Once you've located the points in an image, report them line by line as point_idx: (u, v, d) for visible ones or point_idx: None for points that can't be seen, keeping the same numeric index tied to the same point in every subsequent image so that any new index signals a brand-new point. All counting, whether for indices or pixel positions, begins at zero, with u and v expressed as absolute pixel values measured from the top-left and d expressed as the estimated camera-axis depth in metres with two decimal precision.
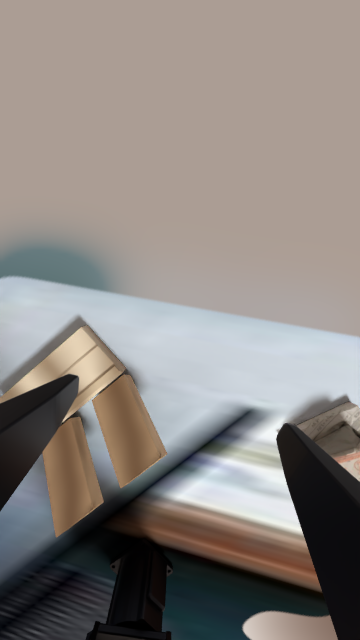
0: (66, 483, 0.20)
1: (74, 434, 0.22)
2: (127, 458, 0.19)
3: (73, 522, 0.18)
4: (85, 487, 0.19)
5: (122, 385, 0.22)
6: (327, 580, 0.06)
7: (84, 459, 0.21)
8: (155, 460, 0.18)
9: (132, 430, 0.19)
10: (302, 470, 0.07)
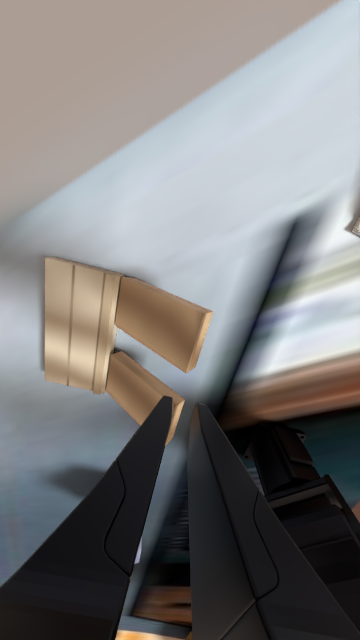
0: (142, 404, 0.19)
1: (122, 364, 0.20)
2: (173, 343, 0.15)
3: None
4: (157, 396, 0.17)
5: (127, 287, 0.17)
6: (197, 555, 0.05)
7: (144, 377, 0.19)
8: (200, 321, 0.13)
9: (161, 315, 0.15)
10: (195, 447, 0.07)
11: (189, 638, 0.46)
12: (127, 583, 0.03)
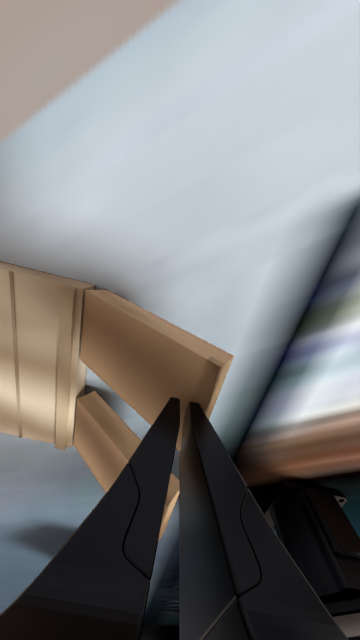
0: None
1: (91, 416, 0.13)
2: None
3: None
4: None
5: (94, 305, 0.11)
6: (186, 553, 0.05)
7: (121, 440, 0.12)
8: (213, 378, 0.07)
9: (145, 357, 0.09)
10: (187, 445, 0.07)
11: None
12: (148, 586, 0.03)
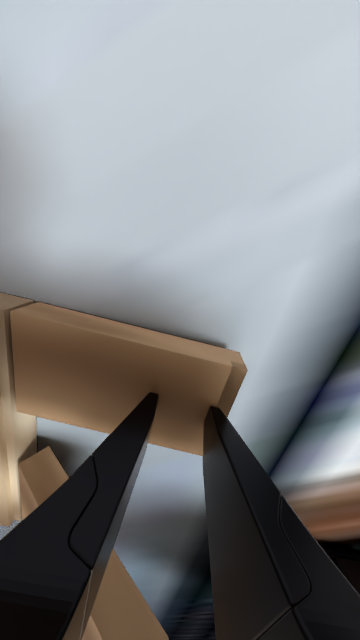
0: None
1: (34, 497, 0.09)
2: (181, 421, 0.08)
3: None
4: (97, 633, 0.06)
5: (37, 333, 0.07)
6: (216, 559, 0.05)
7: None
8: (239, 381, 0.07)
9: (149, 381, 0.08)
10: (212, 450, 0.07)
11: None
12: (87, 575, 0.03)
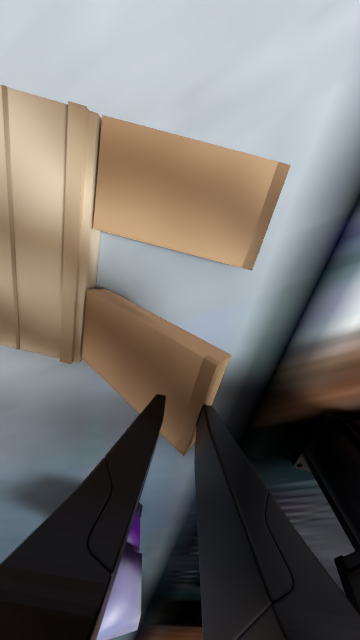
0: (142, 371, 0.10)
1: (105, 300, 0.11)
2: (231, 229, 0.10)
3: (195, 415, 0.08)
4: (175, 348, 0.08)
5: (121, 137, 0.09)
6: (206, 557, 0.05)
7: (146, 318, 0.10)
8: (283, 178, 0.09)
9: (208, 184, 0.10)
10: (203, 449, 0.07)
11: None
12: (108, 579, 0.03)
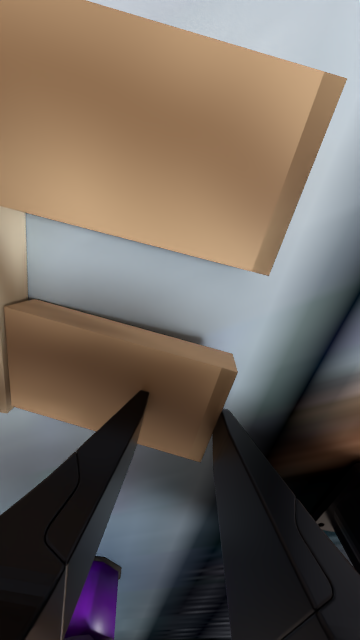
0: None
1: (53, 321, 0.07)
2: (235, 204, 0.06)
3: (213, 422, 0.08)
4: (184, 364, 0.07)
5: (23, 20, 0.05)
6: (230, 562, 0.05)
7: (128, 335, 0.08)
8: (331, 107, 0.05)
9: (193, 120, 0.05)
10: (223, 453, 0.07)
11: None
12: (61, 571, 0.03)
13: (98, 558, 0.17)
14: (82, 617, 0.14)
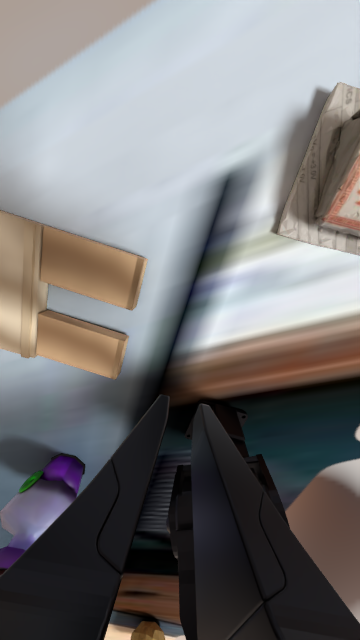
0: (88, 351, 0.20)
1: (57, 320, 0.20)
2: (117, 287, 0.18)
3: (118, 361, 0.21)
4: (105, 338, 0.20)
5: (54, 237, 0.17)
6: (201, 556, 0.05)
7: (86, 326, 0.20)
8: (141, 265, 0.17)
9: (102, 264, 0.17)
10: (199, 448, 0.07)
11: (139, 627, 0.45)
12: (118, 581, 0.03)
13: (72, 456, 0.29)
14: (60, 475, 0.26)
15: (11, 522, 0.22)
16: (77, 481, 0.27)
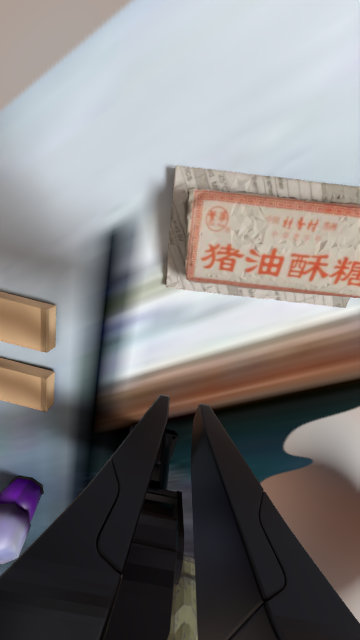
0: (17, 388, 0.23)
1: None
2: (29, 334, 0.20)
3: (44, 396, 0.23)
4: (29, 376, 0.22)
5: None
6: (201, 556, 0.05)
7: (12, 367, 0.22)
8: (45, 314, 0.19)
9: (12, 315, 0.19)
10: (199, 448, 0.07)
11: None
12: (118, 581, 0.03)
13: (29, 478, 0.31)
14: (13, 498, 0.28)
15: None
16: (32, 502, 0.29)
